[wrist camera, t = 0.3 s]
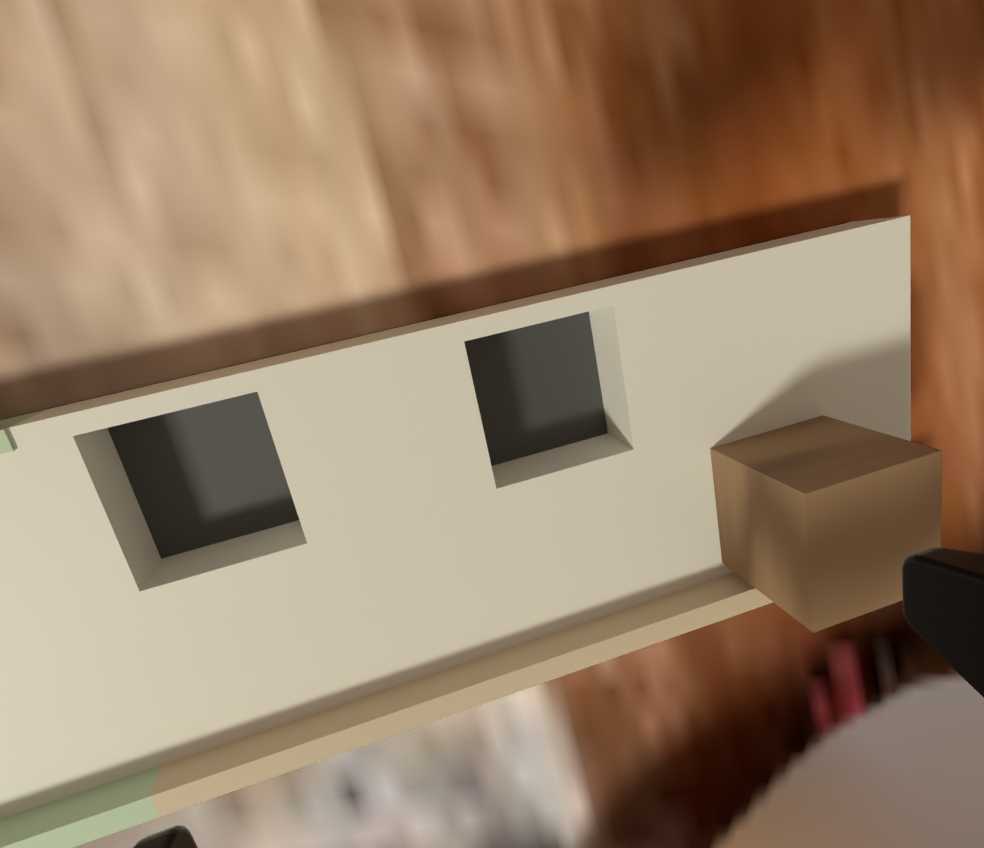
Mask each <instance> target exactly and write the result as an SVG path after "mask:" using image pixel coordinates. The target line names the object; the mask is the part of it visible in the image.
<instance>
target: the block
mask: <svg viewBox="0 0 984 848" xmlns="http://www.w3.org/2000/svg"><path fill="white" fill-rule="evenodd" d="M710 453H711V462H712V472H713V481H714V491H715V500H716V509H717V519H718V528H719V538H720V547H721V557H722V563H723V564H724V565H726V566H727V567H728V568H730V569H731V570H732V571H734V572H735V573H736V574H737V575H739V576H740V577H741V578H743V579H744V580H745V581H747V582H748V583H749V584H750V585H752V586H753V587H754V588H756V589H757V590H758V591H760V592H761V593H762V594H763V595H765V596H766V597H767V598H769V599H770V600H771V601H773V602H774V603H775V604H777V605H778V606H779V607H780V608H782V609H783V610H784V611H786V612H787V613H788V614H790V615H791V616H792V617H793V618H795V619H796V620H797V621H799V622H800V623H801V624H803V625H804V626H805V627H807V628H808V629H809V630H810V631H812V632H813V633H814V632H817V631H819V630H822V629H825V628H828V627H830V626H833V625H836V624H839V623H841V622H844V621H847V620H850V619H852V618H855V617H858V616H861V615H863V614H866V613H869V612H872V611H874V610H877V609H880V608H882V607H885V606H888V605H891V604H893V603H896V602H899V601H902V600H903V598H902V564H903V562H904V560H905V559H906V558H907V557H908V556H910V555H913V554H915V553H918V552H921V551H923V550H926V549H929V548H935V547H939V548H941V479H942V450H939V449H935V448H932V447H928V446H925V445H922V444H918V443H915V442H911V441H908V440H905V439H901V438H898V437H895V436H891V435H888V434H884V433H881V432H878V431H874V430H871V429H867V428H864V427H861V426H857V425H854V424H851V423H847V422H844V421H840V420H837V419H834V418H830V417H827V416H823V415H822V416H819V417H815V418H812V419H808V420H805V421H802V422H798V423H795V424H791V425H788V426H785V427H781V428H778V429H774V430H771V431H768V432H764V433H761V434H757V435H754V436H751V437H747V438H744V439H741V440H737V441H734V442H730V443H727V444H724V445H720V446H717V447H713V448H710Z"/></svg>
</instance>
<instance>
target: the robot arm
mask: <svg viewBox="0 0 984 848" xmlns="http://www.w3.org/2000/svg"><path fill="white" fill-rule="evenodd" d="M902 598H903V613H904V616H905V618H906V620H907V622H908V624H909V625H910V627H911V628H912V629H913V630H914V631H915V632H916V633H917V634H918V635H919V636H920V637H921V638H922V639H923V640H924V641H925V642H926V643H927V644H928V645H929V646H930V647H931V648H932V649H933V650H934V651H936V652H937V653H938V654H939V655H940V656H941V657H942V658H943V659H944V660H945V661H946V662H947V663H948V664H949V665H950V666H951V667H952V668H953V669H954V670H955V671H957V672H958V673H959V674H960V675H961V676H962V677H963V678H964V679H965V680H966V681H967V682H968V683H969V684H970V685H971V686H972V687H973V688H974V689H975V690H977V691H978V692H979V693H980V694H981V695H982V696H983V697H984V554H981V553H974V552H967V551H961V550H954V549H947V548H939V547H935V548H929V549H926V550H923V551H921V552H918V553H915V554H913V555H910V556H908V557H907V558H906V559H905V560H904V562H903V564H902ZM133 848H198V847H197V845H196V843H195V841H194V839H193V837H192V835H191V833H190V832H189V830H188V829H187V828H186V827H184V826H174V827H171V828H169V829H166V830H163V831H160V832H158V833H155V834H152V835H149V836H147V837H145V838H143V839H142V840H140V841H139V842H138V843H137V844H136V845H135V846H134V847H133Z"/></svg>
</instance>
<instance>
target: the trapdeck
mask: <svg viewBox="0 0 984 848" xmlns="http://www.w3.org/2000/svg"><path fill="white" fill-rule="evenodd" d="M822 415H823V416H827V417H830V418H834V419H837V420H840V421H844V422H847V423H851V424H854V425H857V426H861V427H864V428H867V429H871V430H874V431H878V432H881V433H884V434H888V435H891V436H895V437H898V438H901V439H905V440H908V441H911V337H910V215H909V216H899V217H890V218H881V219H871V220H862V221H853V222H848V223H844V224H840V225H835V226H831V227H827V228H823V229H818V230H814V231H810V232H805V233H801V234H797V235H793V236H788V237H784V238H780V239H775V240H771V241H767V242H763V243H758V244H754V245H750V246H745V247H741V248H737V249H733V250H728V251H724V252H720V253H715V254H711V255H707V256H703V257H698V258H694V259H690V260H685V261H681V262H677V263H673V264H668V265H664V266H660V267H655V268H651V269H647V270H643V271H638V272H634V273H630V274H625V275H621V276H617V277H612V278H608V279H604V280H600V281H595V282H591V283H587V284H582V285H578V286H574V287H570V288H565V289H561V290H557V291H552V292H548V293H544V294H540V295H535V296H531V297H527V298H522V299H518V300H514V301H510V302H505V303H501V304H497V305H492V306H488V307H484V308H480V309H475V310H471V311H467V312H462V313H458V314H454V315H450V316H445V317H441V318H437V319H432V320H428V321H424V322H419V323H415V324H411V325H407V326H402V327H398V328H394V329H389V330H385V331H381V332H377V333H372V334H368V335H364V336H359V337H355V338H351V339H347V340H342V341H338V342H334V343H329V344H325V345H321V346H317V347H312V348H308V349H304V350H299V351H295V352H291V353H287V354H282V355H278V356H274V357H269V358H265V359H261V360H257V361H252V362H248V363H244V364H239V365H235V366H231V367H227V368H222V369H218V370H214V371H209V372H205V373H201V374H196V375H192V376H188V377H184V378H179V379H175V380H171V381H166V382H162V383H158V384H154V385H149V386H145V387H141V388H136V389H132V390H128V391H124V392H119V393H115V394H111V395H106V396H102V397H98V398H94V399H89V400H85V401H81V402H76V403H72V404H68V405H64V406H59V407H55V408H51V409H46V410H42V411H38V412H34V413H29V414H25V415H21V416H16V417H12V418H8V419H3V420H0V848H73V847H75V846H78V845H81V844H84V843H87V842H90V841H93V840H95V839H98V838H101V837H104V836H107V835H110V834H113V833H115V832H118V831H121V830H124V829H127V828H130V827H133V826H135V825H138V824H141V823H144V822H147V821H150V820H153V819H155V818H158V817H161V816H164V815H167V814H170V813H173V812H175V811H178V810H181V809H184V808H187V807H190V806H193V805H195V804H198V803H201V802H204V801H207V800H210V799H213V798H215V797H218V796H221V795H224V794H227V793H230V792H233V791H235V790H238V789H241V788H244V787H247V786H250V785H253V784H255V783H258V782H261V781H264V780H267V779H270V778H273V777H275V776H278V775H281V774H284V773H287V772H290V771H293V770H295V769H298V768H301V767H304V766H307V765H310V764H312V763H315V762H318V761H321V760H324V759H327V758H330V757H332V756H335V755H338V754H341V753H344V752H347V751H350V750H352V749H355V748H358V747H361V746H364V745H367V744H370V743H372V742H375V741H378V740H381V739H384V738H387V737H390V736H392V735H395V734H398V733H401V732H404V731H407V730H410V729H412V728H415V727H418V726H421V725H424V724H427V723H430V722H432V721H435V720H438V719H441V718H444V717H447V716H450V715H452V714H455V713H458V712H461V711H464V710H467V709H470V708H472V707H475V706H478V705H481V704H484V703H487V702H490V701H492V700H495V699H498V698H501V697H504V696H507V695H510V694H512V693H515V692H518V691H521V690H524V689H527V688H530V687H532V686H535V685H538V684H541V683H544V682H547V681H550V680H552V679H555V678H558V677H561V676H564V675H567V674H570V673H572V672H575V671H578V670H581V669H584V668H587V667H590V666H592V665H595V664H598V663H601V662H604V661H607V660H610V659H612V658H615V657H618V656H621V655H624V654H627V653H630V652H632V651H635V650H638V649H641V648H644V647H647V646H649V645H652V644H655V643H658V642H661V641H664V640H667V639H669V638H672V637H675V636H678V635H681V634H684V633H687V632H689V631H692V630H695V629H698V628H701V627H704V626H707V625H709V624H712V623H715V622H718V621H721V620H724V619H727V618H729V617H732V616H735V615H738V614H741V613H744V612H747V611H749V610H752V609H755V608H758V607H761V606H764V605H767V604H769V603H772V602H773V601H771V600H770V599H769V598H767V597H766V596H765V595H763V594H762V593H761V592H760V591H758V590H757V589H756V588H754V587H753V586H752V585H750V584H749V583H748V582H747V581H745V580H744V579H743V578H741V577H740V576H739V575H737V574H736V573H735V572H734V571H732V570H731V569H730V568H728V567H727V566H726V565H724V564H723V563H722V557H721V547H720V538H719V528H718V519H717V509H716V500H715V491H714V481H713V472H712V462H711V453H710V448H713V447H717V446H720V445H724V444H727V443H730V442H734V441H737V440H741V439H744V438H747V437H751V436H754V435H757V434H761V433H764V432H768V431H771V430H774V429H778V428H781V427H785V426H788V425H791V424H795V423H798V422H802V421H805V420H808V419H812V418H815V417H819V416H822Z"/></svg>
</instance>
